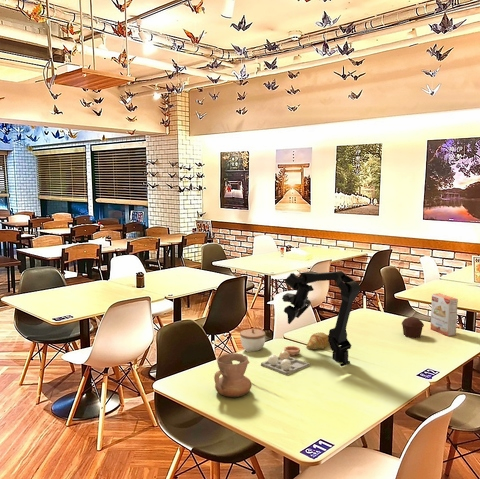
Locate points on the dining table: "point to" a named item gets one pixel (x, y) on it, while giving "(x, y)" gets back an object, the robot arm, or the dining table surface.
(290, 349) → the small terracotta bowl
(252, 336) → the lidded bowl
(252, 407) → the dining table surface
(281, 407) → the dining table surface
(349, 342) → the robot arm
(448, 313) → the cracker box
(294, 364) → the egg carton
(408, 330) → the muffin
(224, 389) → the ceramic jug
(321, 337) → the croissant
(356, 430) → the dining table surface
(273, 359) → the white egg
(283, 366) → the white egg
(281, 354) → the brown egg
